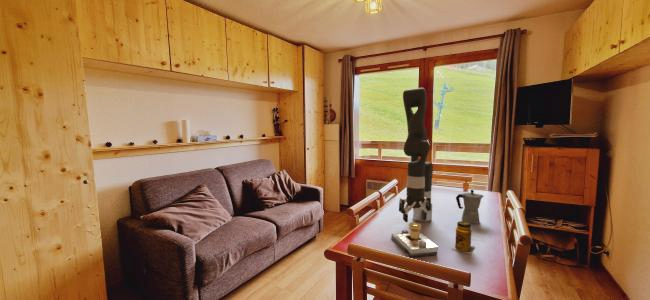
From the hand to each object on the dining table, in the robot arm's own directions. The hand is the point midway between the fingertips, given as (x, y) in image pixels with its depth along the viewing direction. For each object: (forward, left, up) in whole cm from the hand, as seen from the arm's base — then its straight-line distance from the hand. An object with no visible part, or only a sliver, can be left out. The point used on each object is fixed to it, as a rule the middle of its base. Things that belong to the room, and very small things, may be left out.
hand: (414, 220), depth 122 cm
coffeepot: (-45, -22, -12) cm, 51 cm away
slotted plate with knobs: (0, 0, -12) cm, 12 cm away
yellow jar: (-21, +6, -12) cm, 25 cm away
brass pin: (0, 0, -12) cm, 12 cm away
